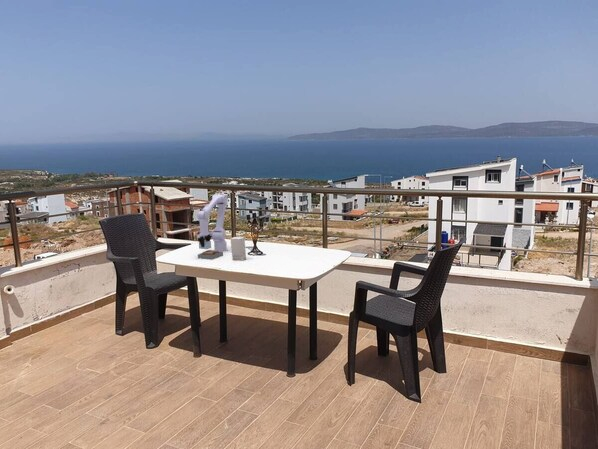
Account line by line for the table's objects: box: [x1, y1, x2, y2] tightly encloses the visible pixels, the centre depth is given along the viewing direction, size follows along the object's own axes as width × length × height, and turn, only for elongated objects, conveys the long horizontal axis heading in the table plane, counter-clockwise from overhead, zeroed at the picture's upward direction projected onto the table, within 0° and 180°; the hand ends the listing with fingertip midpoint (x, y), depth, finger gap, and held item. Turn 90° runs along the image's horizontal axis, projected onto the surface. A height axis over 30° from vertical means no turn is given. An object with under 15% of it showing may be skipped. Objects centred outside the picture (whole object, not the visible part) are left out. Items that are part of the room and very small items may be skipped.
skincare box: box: [230, 236, 247, 261], centre depth 305 cm, size 8×7×16 cm
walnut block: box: [201, 249, 218, 256], centre depth 312 cm, size 8×8×4 cm
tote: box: [197, 251, 224, 261], centre depth 313 cm, size 13×13×4 cm
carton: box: [198, 240, 212, 250], centre depth 313 cm, size 5×7×5 cm
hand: (205, 246), depth 313 cm, fingers closed on carton, 5 cm apart
